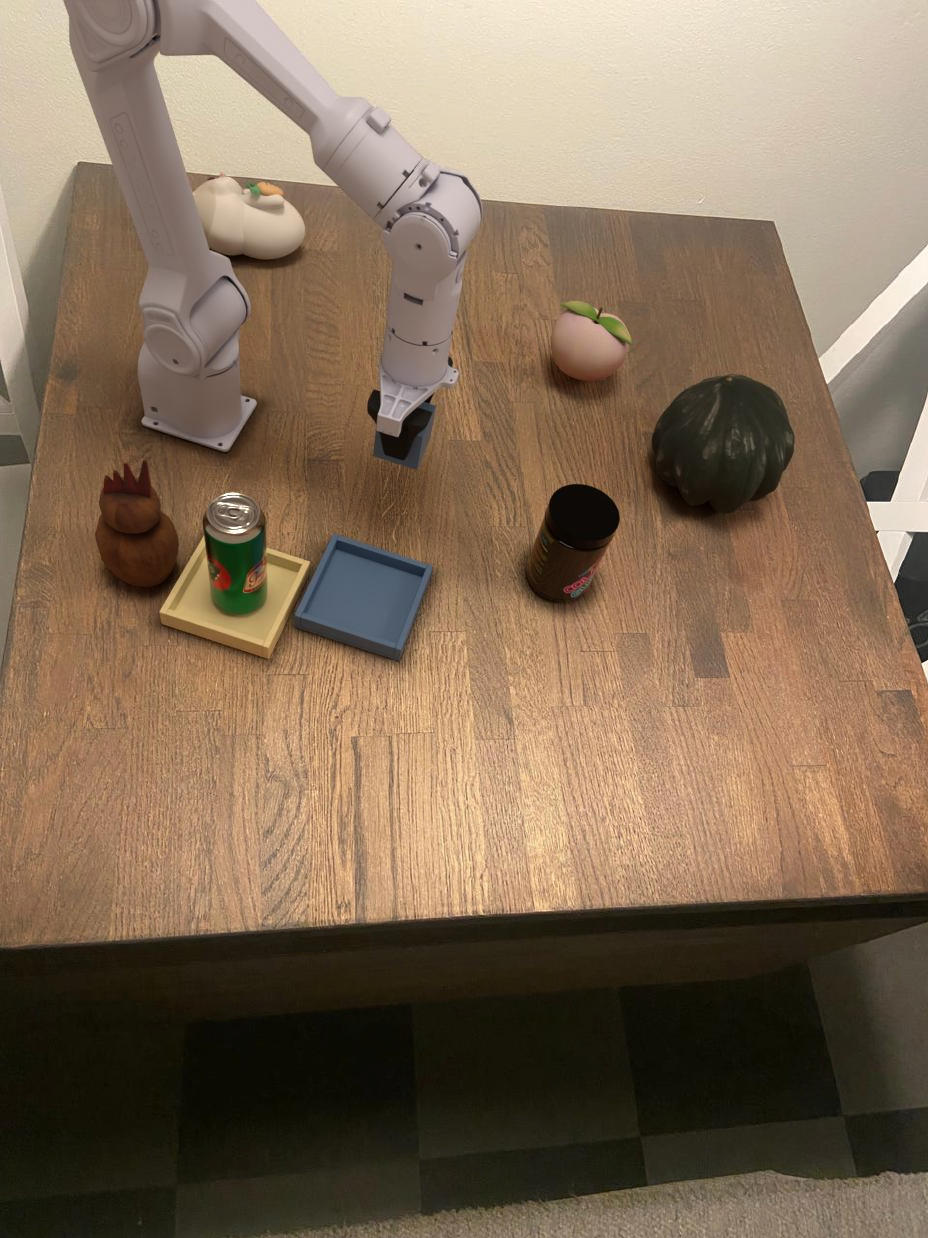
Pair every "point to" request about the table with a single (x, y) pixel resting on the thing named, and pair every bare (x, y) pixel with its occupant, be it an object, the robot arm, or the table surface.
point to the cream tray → (246, 632)
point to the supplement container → (571, 541)
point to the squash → (724, 442)
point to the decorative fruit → (588, 342)
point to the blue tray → (364, 597)
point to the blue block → (417, 446)
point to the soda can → (236, 553)
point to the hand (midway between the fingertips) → (402, 437)
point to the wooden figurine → (135, 530)
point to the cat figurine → (248, 219)
